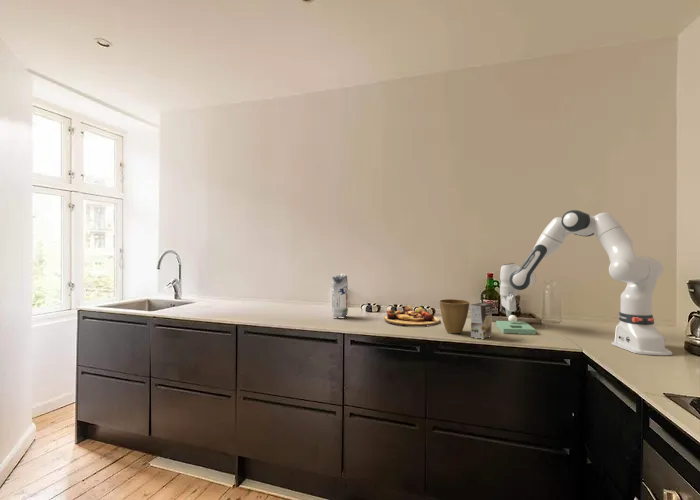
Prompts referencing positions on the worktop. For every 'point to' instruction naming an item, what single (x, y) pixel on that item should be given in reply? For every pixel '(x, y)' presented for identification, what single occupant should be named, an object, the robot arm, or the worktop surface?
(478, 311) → the coffee box
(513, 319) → the ball
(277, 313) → the worktop surface
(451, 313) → the plant pot
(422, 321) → the wooden plate with food
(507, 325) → the putting board
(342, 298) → the juice carton
